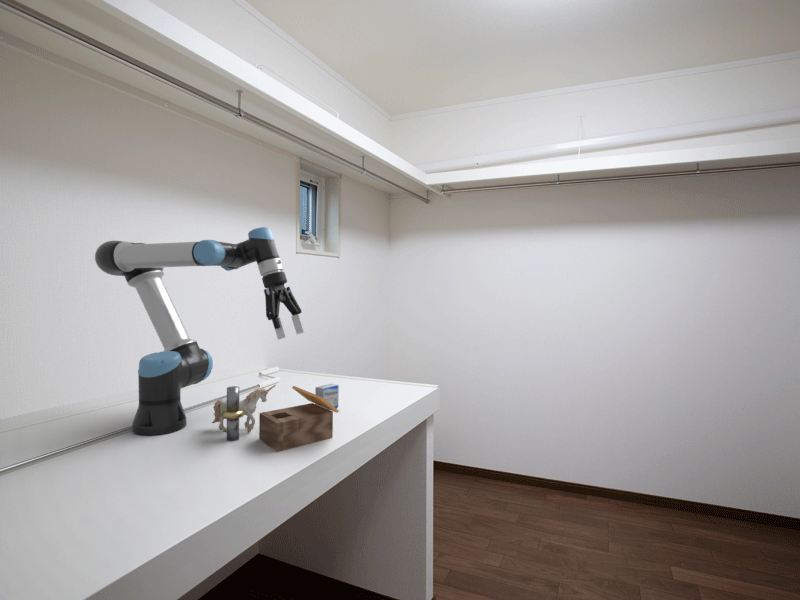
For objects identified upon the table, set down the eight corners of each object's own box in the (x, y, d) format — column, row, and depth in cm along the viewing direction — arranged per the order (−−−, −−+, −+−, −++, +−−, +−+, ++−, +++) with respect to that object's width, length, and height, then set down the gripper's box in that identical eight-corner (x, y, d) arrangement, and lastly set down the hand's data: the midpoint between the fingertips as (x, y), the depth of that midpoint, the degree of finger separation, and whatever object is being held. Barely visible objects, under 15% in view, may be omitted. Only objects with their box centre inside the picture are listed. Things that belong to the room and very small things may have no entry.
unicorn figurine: (275, 432, 139) (275, 389, 138) (208, 436, 134) (208, 392, 133) (275, 424, 146) (276, 384, 145) (212, 428, 141) (212, 386, 140)
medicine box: (323, 412, 161) (323, 388, 160) (314, 409, 163) (315, 386, 163) (338, 407, 167) (339, 384, 166) (330, 405, 170) (330, 383, 169)
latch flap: (320, 399, 128) (321, 397, 129) (291, 387, 141) (293, 385, 141) (337, 413, 133) (338, 410, 133) (308, 400, 145) (310, 398, 146)
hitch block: (277, 451, 123) (277, 423, 123) (259, 439, 132) (259, 412, 132) (332, 437, 135) (332, 411, 135) (312, 427, 144) (312, 403, 144)
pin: (226, 444, 127) (226, 391, 127) (218, 438, 132) (219, 387, 131) (246, 439, 131) (247, 388, 131) (238, 434, 136) (239, 384, 135)
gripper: (263, 269, 132) (284, 337, 132) (299, 271, 157) (316, 328, 156) (242, 277, 134) (262, 344, 133) (280, 277, 158) (298, 334, 158)
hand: (292, 335), depth 145 cm, fingers open, 13 cm apart
